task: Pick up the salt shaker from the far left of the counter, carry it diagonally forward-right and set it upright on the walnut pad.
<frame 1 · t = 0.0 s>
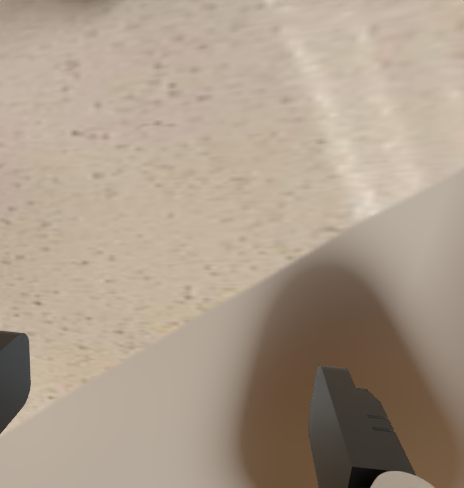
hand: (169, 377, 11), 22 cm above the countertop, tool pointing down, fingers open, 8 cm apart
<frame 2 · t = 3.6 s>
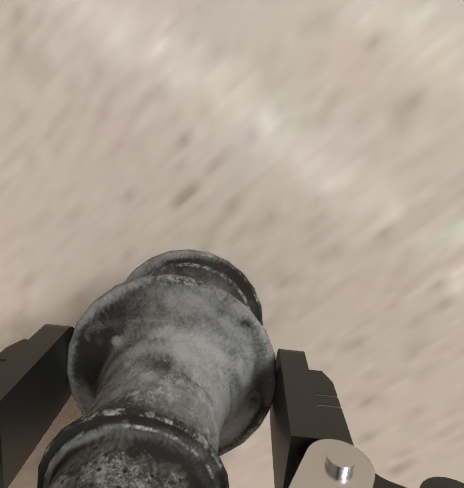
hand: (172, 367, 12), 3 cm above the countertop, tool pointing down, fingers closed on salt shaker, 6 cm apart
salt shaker: (190, 317, 15), on the countertop, touching gripper
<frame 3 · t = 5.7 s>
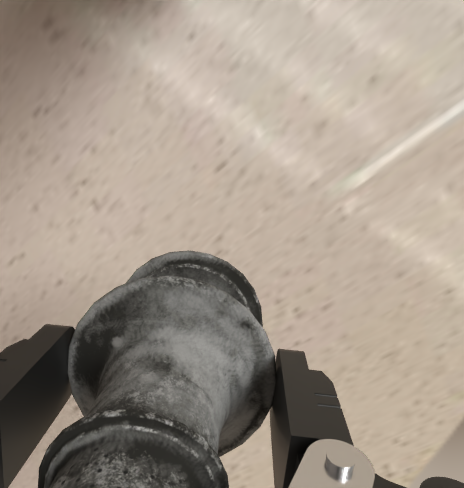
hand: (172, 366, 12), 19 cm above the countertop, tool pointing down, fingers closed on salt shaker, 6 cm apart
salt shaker: (190, 318, 15), point 16 cm above the countertop, touching gripper
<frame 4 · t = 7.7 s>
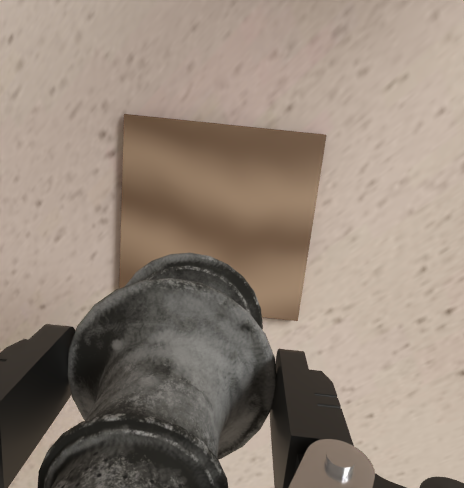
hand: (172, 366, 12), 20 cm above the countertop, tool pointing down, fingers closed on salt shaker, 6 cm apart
walnut pad: (216, 221, 31), on the countertop
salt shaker: (190, 320, 15), point 16 cm above the countertop, touching gripper
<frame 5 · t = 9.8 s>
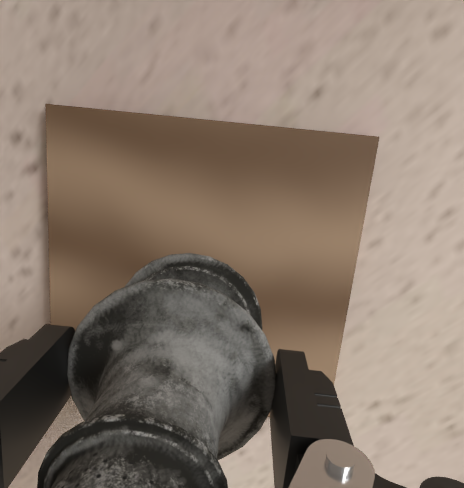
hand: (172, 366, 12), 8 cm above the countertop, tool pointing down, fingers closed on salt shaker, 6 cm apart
walnut pad: (200, 272, 20), on the countertop
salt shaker: (189, 320, 15), point 5 cm above the countertop, touching gripper
when the fingers open (5 cm above the countertop, at t = 11.4 s): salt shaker drops 1 cm, resting on walnut pad.
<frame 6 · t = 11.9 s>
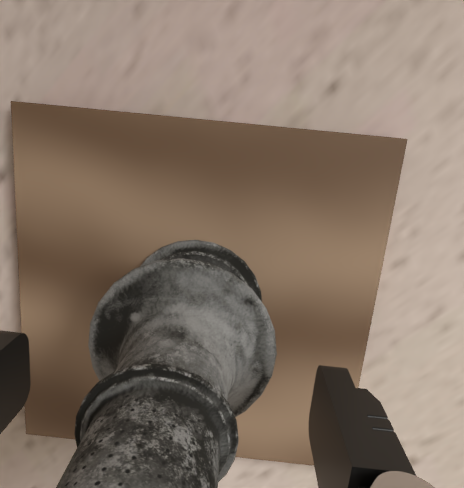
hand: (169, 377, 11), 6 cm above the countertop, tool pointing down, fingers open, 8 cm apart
walnut pad: (196, 296, 17), on the countertop
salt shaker: (195, 302, 16), point 1 cm above the countertop, touching walnut pad
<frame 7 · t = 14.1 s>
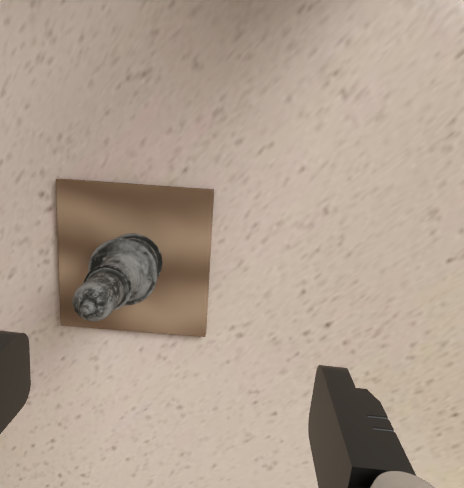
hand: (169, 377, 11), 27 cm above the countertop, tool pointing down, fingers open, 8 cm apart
walnut pad: (135, 258, 39), on the countertop
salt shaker: (134, 260, 38), point 1 cm above the countertop, touching walnut pad
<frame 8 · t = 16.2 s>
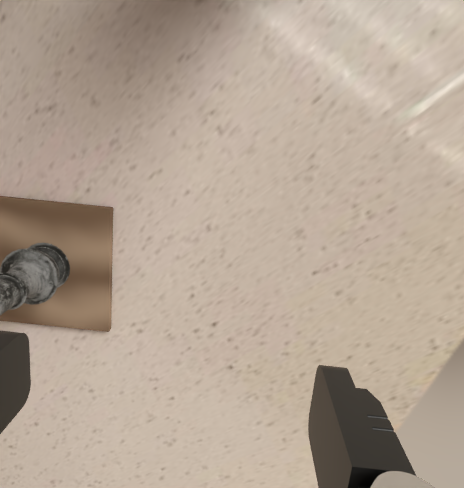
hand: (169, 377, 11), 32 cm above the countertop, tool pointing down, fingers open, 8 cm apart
walnut pad: (48, 263, 45), on the countertop
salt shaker: (46, 265, 44), point 1 cm above the countertop, touching walnut pad
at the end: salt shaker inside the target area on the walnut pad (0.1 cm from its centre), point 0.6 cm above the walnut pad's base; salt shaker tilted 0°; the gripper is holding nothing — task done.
